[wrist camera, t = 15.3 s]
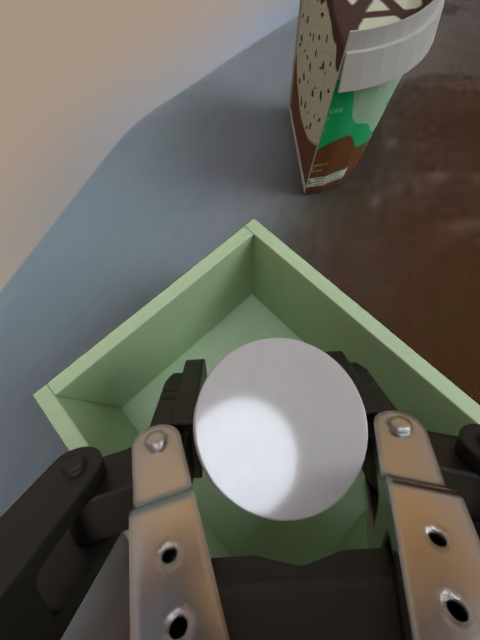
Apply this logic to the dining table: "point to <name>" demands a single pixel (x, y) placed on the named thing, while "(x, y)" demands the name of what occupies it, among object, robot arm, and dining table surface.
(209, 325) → the green open box
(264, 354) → the grey cylindrical piece
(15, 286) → the dining table surface
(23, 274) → the dining table surface
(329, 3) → the food container
